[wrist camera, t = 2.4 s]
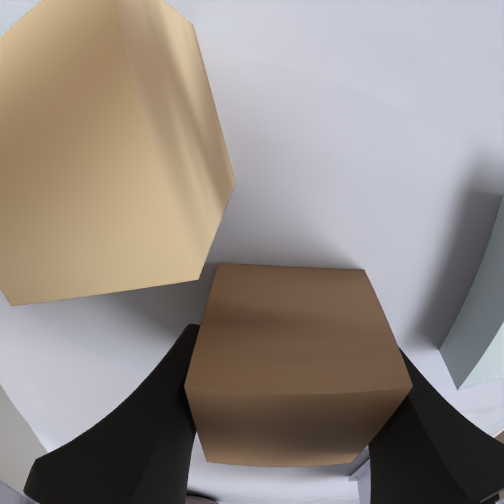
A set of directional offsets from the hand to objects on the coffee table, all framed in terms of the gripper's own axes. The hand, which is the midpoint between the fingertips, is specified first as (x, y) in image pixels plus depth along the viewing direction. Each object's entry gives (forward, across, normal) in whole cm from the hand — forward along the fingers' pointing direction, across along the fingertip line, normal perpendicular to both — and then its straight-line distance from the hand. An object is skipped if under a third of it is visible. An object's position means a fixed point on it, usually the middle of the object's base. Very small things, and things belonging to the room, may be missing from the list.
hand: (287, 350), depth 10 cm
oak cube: (+2, +5, -7) cm, 9 cm away
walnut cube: (+2, 0, 0) cm, 2 cm away
